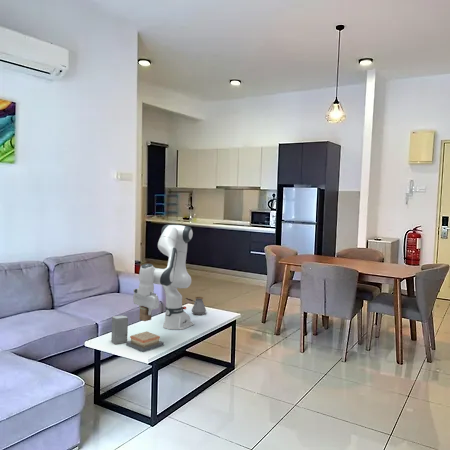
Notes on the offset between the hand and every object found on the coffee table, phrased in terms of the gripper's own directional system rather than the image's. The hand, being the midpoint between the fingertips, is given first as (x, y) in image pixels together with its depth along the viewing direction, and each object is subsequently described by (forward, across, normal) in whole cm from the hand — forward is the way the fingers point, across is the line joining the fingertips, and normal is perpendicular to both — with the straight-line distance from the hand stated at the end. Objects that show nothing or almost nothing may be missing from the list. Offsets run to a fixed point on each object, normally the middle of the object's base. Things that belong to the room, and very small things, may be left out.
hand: (145, 313), depth 251 cm
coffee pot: (+19, +27, -70) cm, 78 cm away
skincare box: (+20, +16, +7) cm, 26 cm away
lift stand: (+20, 0, 0) cm, 20 cm away
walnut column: (+4, 0, 0) cm, 4 cm away
